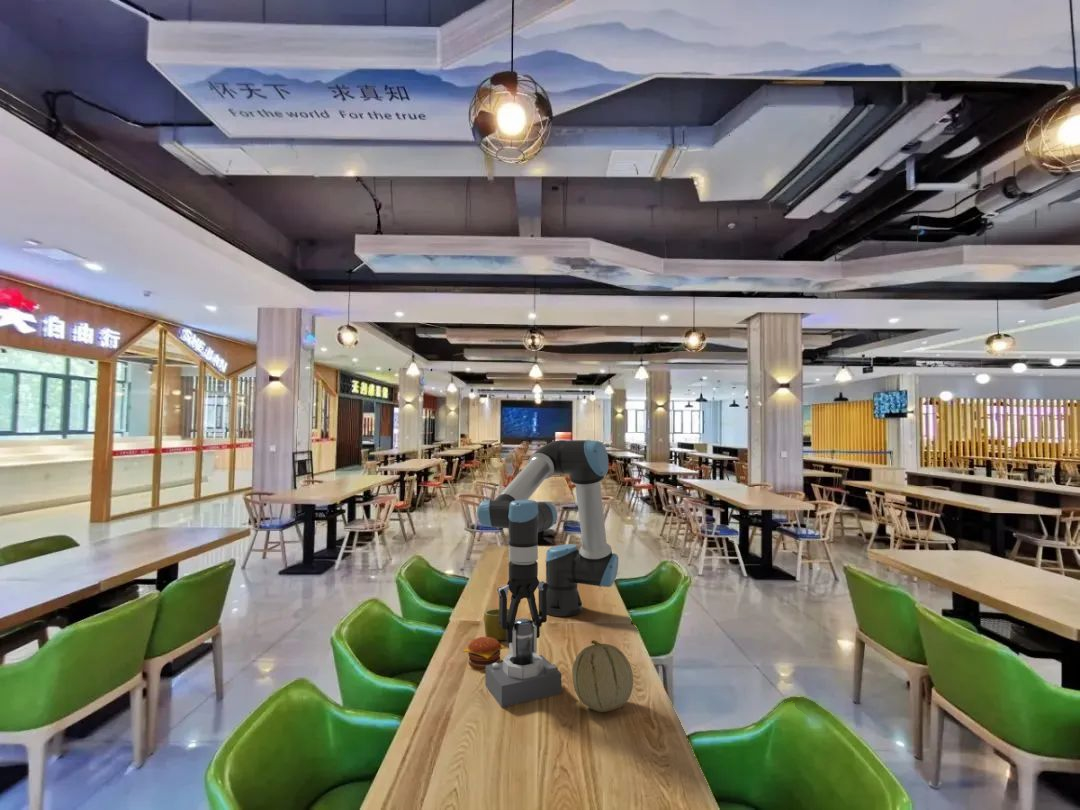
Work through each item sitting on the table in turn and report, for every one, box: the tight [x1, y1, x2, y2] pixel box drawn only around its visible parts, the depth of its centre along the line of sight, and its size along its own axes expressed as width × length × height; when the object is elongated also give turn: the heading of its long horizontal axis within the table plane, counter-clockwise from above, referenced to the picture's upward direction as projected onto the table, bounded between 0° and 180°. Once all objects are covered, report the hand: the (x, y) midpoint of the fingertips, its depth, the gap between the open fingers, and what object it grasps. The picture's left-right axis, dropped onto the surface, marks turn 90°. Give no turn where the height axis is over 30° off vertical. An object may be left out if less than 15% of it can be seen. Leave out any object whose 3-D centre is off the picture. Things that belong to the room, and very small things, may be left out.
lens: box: [513, 618, 533, 666], centre depth 135 cm, size 5×5×10 cm
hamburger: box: [462, 636, 506, 670], centre depth 151 cm, size 9×10×7 cm
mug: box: [483, 607, 509, 642], centre depth 170 cm, size 12×10×10 cm
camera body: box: [485, 653, 562, 708], centre depth 135 cm, size 16×12×8 cm
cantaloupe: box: [571, 639, 634, 713], centre depth 126 cm, size 15×15×15 cm
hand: (523, 652), depth 135 cm, fingers closed on lens, 5 cm apart
